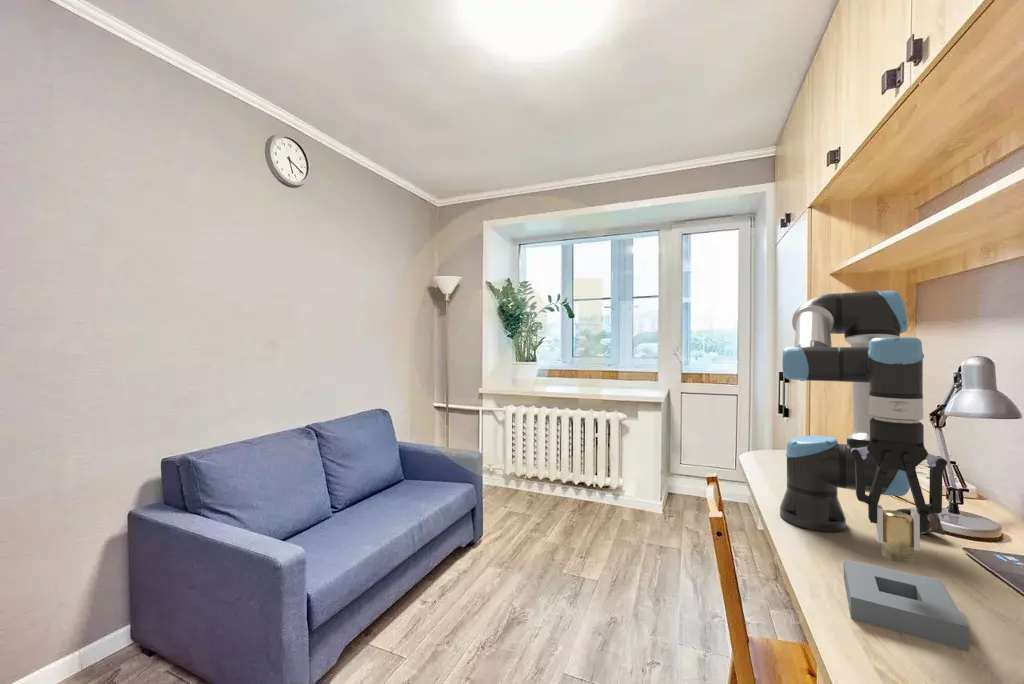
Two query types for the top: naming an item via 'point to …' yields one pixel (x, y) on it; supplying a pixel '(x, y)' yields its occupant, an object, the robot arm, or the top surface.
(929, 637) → the jig
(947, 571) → the top surface
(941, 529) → the caster wheel
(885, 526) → the gold metal cylinder
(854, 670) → the top surface
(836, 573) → the top surface
